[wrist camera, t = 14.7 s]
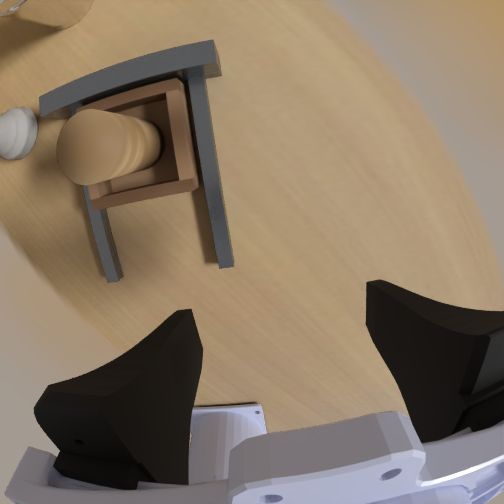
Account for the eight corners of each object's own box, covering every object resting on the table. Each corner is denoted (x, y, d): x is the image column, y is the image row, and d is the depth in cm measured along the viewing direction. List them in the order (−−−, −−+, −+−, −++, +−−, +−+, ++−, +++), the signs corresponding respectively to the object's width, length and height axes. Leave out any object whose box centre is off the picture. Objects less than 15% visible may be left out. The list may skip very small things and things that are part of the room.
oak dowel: (169, 163, 19) (127, 173, 12) (123, 176, 19) (65, 194, 12) (159, 113, 18) (112, 98, 11) (113, 128, 18) (51, 124, 11)
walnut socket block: (200, 185, 20) (193, 190, 18) (109, 203, 20) (93, 211, 18) (185, 86, 18) (176, 77, 15) (93, 111, 18) (76, 109, 16)
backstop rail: (249, 259, 22) (249, 280, 19) (101, 278, 22) (82, 298, 19) (219, 56, 17) (213, 39, 14) (65, 100, 18) (38, 96, 14)
